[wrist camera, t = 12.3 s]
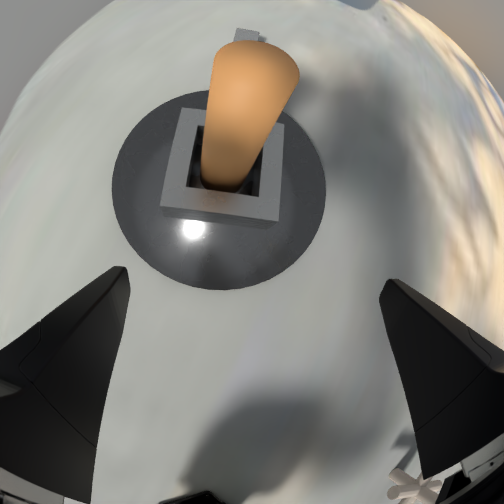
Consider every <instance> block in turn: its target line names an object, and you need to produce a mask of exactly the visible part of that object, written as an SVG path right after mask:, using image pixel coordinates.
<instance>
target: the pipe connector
mask: <svg viewBox="0 0 504 504" xmlns="http://www.w3.org/2000/svg"><path fill="white" fill-rule="evenodd" d="M389 478H390V479H391V480H392V481H393V482H395V483H396V484H397V485H396V486H392V487H391V488H390V489H389V490H388V492H387V496H388V498H389V499H391V500H394V499H401V498H402V500H401V501H400V502H399V503H398V504H413V503H414V502H415V501H416V500H417V499H418V500H419V501H421V502H422V503H423V504H435V502H436V500H437V497H438V495H439V494H437V493H435V492H436V491H438V490H440V489H441V487H442V482H441V481H440V480H435V481H430V480H431V479H432V478H433V476H432V477H430V478H428V479H426V480H423V476H422V472H421V474H420V475H419V477H418V478H417V479H416V480H415V479H414V478H412V477H411V476H409V475H408V474H406V473H405V472H404V471H402V470H401V469H399V468H396V469H394V470H393V471H392V472H391V473H390V474H389Z"/></svg>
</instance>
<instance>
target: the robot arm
mask: <svg viewBox="0 0 504 504" xmlns="http://www.w3.org/2000/svg"><path fill="white" fill-rule="evenodd" d="M129 297H130V283H129V277H128V272H127V269H126V267H122V266H114V267H112V268H111V269H109V270H108V271H106V272H105V273H103V274H102V275H100V276H99V277H98V278H96V279H95V280H93V281H92V282H91V283H89V284H88V285H86V286H85V287H84V288H82V289H81V290H80V291H78V292H77V293H75V294H74V295H73V296H71V297H70V298H69V299H67V300H66V301H65V302H63V303H62V304H61V305H59V306H58V307H57V308H55V309H54V310H53V311H51V312H50V313H49V314H48V315H46V316H45V317H44V318H42V319H41V322H40V321H39V322H37V323H36V324H35V325H34V326H32V327H31V328H30V329H29V330H27V331H26V332H25V333H23V334H22V335H21V336H20V337H18V338H17V339H15V340H14V341H13V342H11V343H10V344H8V345H7V346H6V347H4V348H3V349H1V350H0V504H64V497H67V498H70V499H73V500H76V501H79V502H83V503H86V504H90V503H91V492H92V482H93V473H94V465H95V457H96V451H97V449H96V448H97V443H98V437H99V431H100V426H101V421H102V415H103V410H104V406H105V401H106V396H107V392H108V388H109V383H110V379H111V375H112V371H113V367H114V363H115V360H116V356H117V352H118V348H119V345H120V341H121V338H122V334H123V329H124V324H125V318H126V313H127V307H128V302H129ZM379 303H380V307H381V311H382V315H383V319H384V323H385V327H386V331H387V335H388V339H389V342H390V345H391V348H392V351H393V354H394V357H395V361H396V364H397V367H398V370H399V374H400V377H401V381H402V384H403V388H404V391H405V395H406V399H407V403H408V407H409V411H410V415H411V419H412V423H413V428H414V432H415V438H416V443H417V448H418V453H419V458H420V464H421V470H422V476H423V480H426V479H428V478H430V477H432V476H434V475H436V474H438V473H440V472H442V471H444V470H446V469H448V468H450V467H452V466H453V465H455V464H457V463H459V462H460V464H461V467H462V469H461V470H459V471H457V472H456V473H454V474H452V475H451V476H449V477H447V478H446V479H445V481H444V483H443V486H442V488H441V490H440V493H439V495H438V497H437V500H436V502H435V504H504V351H503V350H502V349H500V348H499V347H497V346H496V345H494V344H493V343H491V342H490V341H488V340H487V339H485V338H484V337H482V336H481V335H480V334H478V333H477V332H475V331H474V330H472V329H471V328H470V327H468V326H466V324H464V323H463V322H461V321H460V320H458V319H457V318H456V317H454V316H453V315H451V314H450V313H448V312H447V311H446V310H444V309H443V308H441V307H440V306H438V305H437V304H435V303H434V302H432V301H431V300H429V299H428V298H427V297H425V296H424V295H422V294H421V293H419V292H417V291H416V290H414V289H413V288H411V287H410V286H408V285H407V284H405V283H404V282H402V281H401V280H399V279H388V280H387V281H386V283H385V285H384V288H383V290H382V292H381V294H380V297H379ZM206 495H208V496H206ZM165 504H226V503H225V502H221V501H220V500H219V499H218V498H217V497H216V496H215V495H214V494H213V493H212V492H210V491H204V492H201V493H198V494H195V495H192V496H189V497H186V498H183V499H179V500H176V501H173V502H169V503H165Z"/></svg>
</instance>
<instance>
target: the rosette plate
mask: <svg viewBox="0 0 504 504" xmlns="http://www.w3.org/2000/svg"><path fill="white" fill-rule="evenodd" d="M258 38H259V32H257V31H252V30H246V29H240V28H237V29H236V33H235V37H234V41H233V42H236V41H241V40H254V41H258ZM208 96H209V90H208V91H199V92H194V93H190V94H185V95H182V96H180V97H177V98H174V99H172V100H170V101H168V102H166V103H164V104H162V105H160V106H159V107H157V108H156V109H154V110H153V111H151V112H150V113H149V114H148V115H146V116H145V117H144V118H143V119H142V120H141V121H140V122H139V123H138V124H137V125H136V126H135V127H134V128H133V130H132V131H131V133H130V134H129V135H128V137H127V138H126V140H125V142H124V144H123V145H122V147H121V149H120V151H119V154H118V157H117V160H116V163H115V167H114V172H113V177H112V198H113V206H114V210H115V214H116V218H117V220H118V223H119V225H120V228H121V230H122V232H123V234H124V235H125V237H126V239H127V240H128V242H129V244H130V245H131V246H132V248H133V249H134V250H135V251H136V252H137V254H138V255H139V256H140V257H141V258H142V259H143V260H144V261H146V262H147V263H148V264H149V265H150V266H151V267H153V268H154V269H156V270H157V271H159V272H160V273H162V274H163V275H165V276H167V277H169V278H171V279H173V280H175V281H177V282H180V283H183V284H186V285H189V286H192V287H197V288H203V289H209V290H230V289H240V288H244V287H249V286H253V285H256V284H259V283H261V282H264V281H266V280H269V279H271V278H273V277H274V276H276V275H278V274H280V273H281V272H283V271H284V270H285V269H287V268H288V267H289V266H291V265H292V264H293V263H294V262H295V261H296V260H297V259H298V258H299V257H300V256H301V255H302V254H303V253H304V252H305V250H306V249H307V248H308V246H309V245H310V244H311V242H312V240H313V238H314V236H315V235H316V233H317V231H318V228H319V225H320V223H321V220H322V216H323V212H324V207H325V196H326V190H325V178H324V173H323V168H322V165H321V162H320V159H319V156H318V154H317V152H316V150H315V148H314V146H313V144H312V143H311V141H310V140H309V138H308V136H307V135H306V134H305V133H304V131H303V130H302V129H301V128H300V126H299V125H298V124H297V123H296V122H295V121H294V120H293V119H292V118H290V117H289V116H288V115H287V114H285V113H284V112H283V111H282V112H281V114H280V115H279V117H278V119H277V121H276V123H275V125H274V126H273V128H272V130H271V132H270V134H269V136H268V137H267V139H266V141H265V143H264V145H263V147H262V149H261V151H260V152H259V154H258V156H257V158H256V160H255V162H254V164H253V166H252V168H251V169H250V171H249V173H248V175H247V177H246V179H245V181H244V183H243V185H242V187H241V188H240V189H239V190H238V191H237V192H236V193H228V192H221V191H213V190H206V189H205V188H204V187H203V185H202V184H201V181H200V165H201V155H202V145H203V136H204V127H205V119H206V111H207V103H208Z"/></svg>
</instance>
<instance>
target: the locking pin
mask: <svg viewBox="0 0 504 504" xmlns="http://www.w3.org/2000/svg"><path fill="white" fill-rule="evenodd" d="M299 77H300V76H299V69H298V67H297V65H296V63H295V61H294V60H293V59H292V58H291V57H290V56H289V55H288V54H287V53H286V52H284V51H283V50H281V49H279V48H278V47H276V46H273V45H271V44H268V43H265V42H261V41H254V40H241V41H236V42H232V43H229V44H227V45H225V46H223V47H222V48H221V49H220V50H219V51H218V52H217V53H216V55H215V58H214V62H213V69H212V75H211V82H210V89H209V96H208V103H207V111H206V119H205V127H204V136H203V145H202V155H201V165H200V181H201V184H202V185H203V187H204V188H205V189H206V190H213V191H221V192H228V193H236V192H237V191H238V190H239V189H240V188H241V187H242V185H243V183H244V181H245V179H246V177H247V175H248V173H249V171H250V169H251V168H252V166H253V164H254V162H255V160H256V158H257V156H258V154H259V152H260V151H261V149H262V147H263V145H264V143H265V141H266V139H267V137H268V136H269V134H270V132H271V130H272V128H273V126H274V125H275V123H276V121H277V119H278V117H279V115H280V114H281V112H282V110H283V108H284V106H285V105H286V103H287V101H288V99H289V98H290V96H291V94H292V92H293V91H294V89H295V87H296V85H297V84H298V81H299Z"/></svg>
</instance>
